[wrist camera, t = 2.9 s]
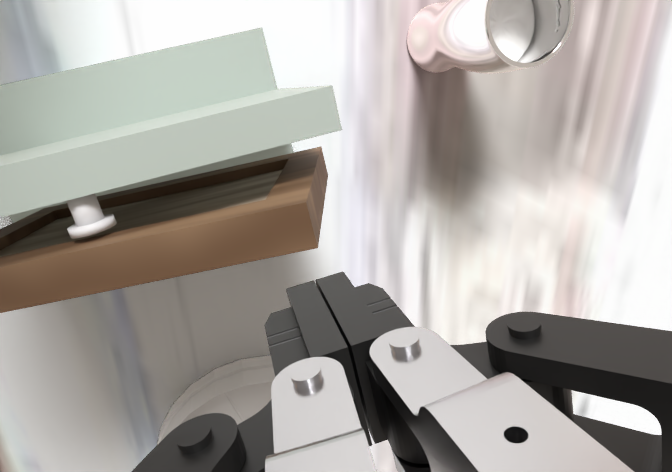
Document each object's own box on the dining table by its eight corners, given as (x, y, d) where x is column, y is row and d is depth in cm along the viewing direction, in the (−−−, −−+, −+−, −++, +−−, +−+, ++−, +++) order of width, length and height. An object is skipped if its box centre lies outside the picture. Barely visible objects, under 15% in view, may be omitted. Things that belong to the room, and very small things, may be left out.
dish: (114, 417, 50) (103, 451, 45) (310, 317, 52) (319, 340, 47) (218, 557, 58) (218, 598, 53) (386, 465, 60) (400, 497, 55)
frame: (43, 208, 35) (-141, 297, 22) (321, 146, 33) (306, 202, 20) (54, 234, 35) (-117, 336, 22) (327, 175, 34) (317, 247, 21)
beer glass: (397, 73, 47) (474, 65, 33) (406, -7, 45) (492, -52, 31) (464, 81, 48) (565, 76, 34) (476, 3, 47) (587, -35, 33)
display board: (-34, 95, 40) (-364, 98, 17) (260, 30, 43) (305, -38, 21) (29, 234, 43) (-174, 386, 21) (293, 164, 47) (363, 230, 24)
